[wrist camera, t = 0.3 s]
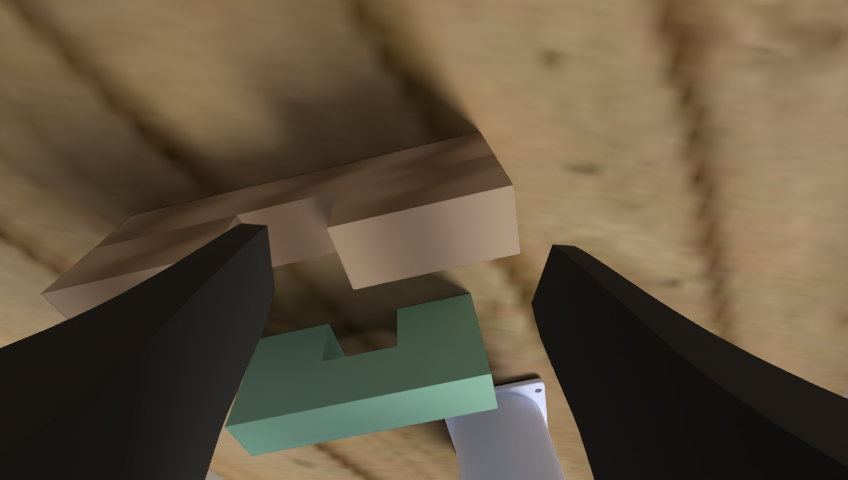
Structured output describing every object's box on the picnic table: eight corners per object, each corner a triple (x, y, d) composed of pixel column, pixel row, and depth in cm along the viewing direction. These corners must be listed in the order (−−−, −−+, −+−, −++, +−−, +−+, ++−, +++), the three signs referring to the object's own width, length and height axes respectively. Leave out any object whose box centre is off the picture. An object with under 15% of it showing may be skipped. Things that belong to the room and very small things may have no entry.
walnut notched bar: (480, 131, 18) (513, 184, 13) (488, 187, 20) (519, 253, 15) (132, 215, 19) (40, 293, 14) (166, 261, 21) (95, 346, 16)
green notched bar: (470, 293, 24) (491, 373, 19) (477, 326, 25) (497, 408, 20) (258, 338, 25) (224, 426, 20) (278, 367, 26) (251, 455, 21)
